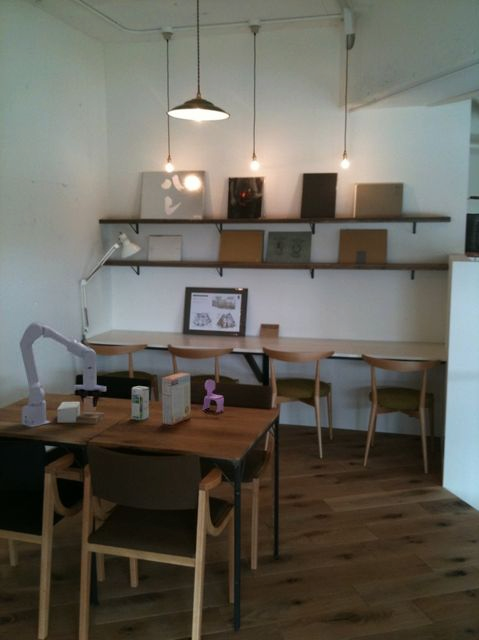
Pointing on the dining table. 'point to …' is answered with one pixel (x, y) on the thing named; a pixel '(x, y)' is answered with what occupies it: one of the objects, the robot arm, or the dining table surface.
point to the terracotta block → (88, 404)
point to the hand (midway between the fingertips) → (90, 406)
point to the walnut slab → (90, 417)
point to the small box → (68, 412)
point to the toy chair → (212, 396)
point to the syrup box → (140, 403)
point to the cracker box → (175, 398)
